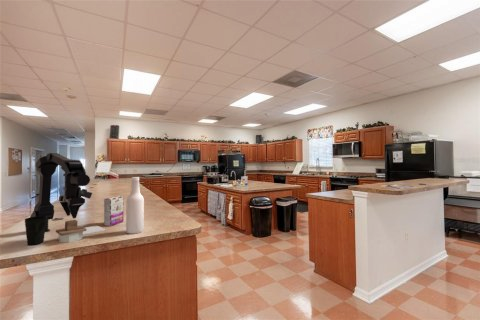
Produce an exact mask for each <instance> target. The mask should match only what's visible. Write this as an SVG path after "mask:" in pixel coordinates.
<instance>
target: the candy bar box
mask: <svg viewBox="0 0 480 320" xmlns="http://www.w3.org/2000/svg"><path fill="white" fill-rule="evenodd" d="M103 209H104V211H103V214H104V215H103V219H104V220H103V222H104V223H103V224H104V225H103V226H105V227H112V226H115V225H118V224H120V223H123V222H124V195H123V196H118V195H117V196H114V197H109V198H104V199H103Z"/></svg>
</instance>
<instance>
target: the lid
mask: <svg viewBox="0 0 480 320" xmlns="http://www.w3.org/2000/svg"><path fill="white" fill-rule="evenodd" d="M83 231H86V228H85V227H84V226H82V225H78V220H76V219H70V220H66V221H64V228H59V229H55V233H57V234H58V236H59V235H61V236H63V235H68V234H73V233H78V232H83Z"/></svg>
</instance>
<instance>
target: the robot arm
mask: <svg viewBox="0 0 480 320" xmlns="http://www.w3.org/2000/svg"><path fill="white" fill-rule="evenodd" d="M58 166H60V167H61V170H62V171H63V172H64V173H63V175H62V177H64V187H63V190H64V194H62V195H60V196H59V197H58V202H59V203H60V206H61V207H62V209H63V211H64V213H65V214H66V216H67V217H69V216H71V217H72V219H76V218H77V216H78V212H79V210H80V208H81V207H82V206H84V204H86V199H91V198H92V195H93V192H91V191H88V190H87V189H85V188H82V187H86V186H88V185H89V184H90V182H91V178H90V176H89V175H88V174H87V173H86V169H85V167H84V166H83V163H82V161H81V160H79V159H70V158H68V157H66V156H63V155H61V154H60V153H58V152H57V153H55V152H54V153H53V152H49V153H47V154H46V155H44V156H41V157H40V158H38V159H37V161H36V162H35V168H36V172H37V173H38V175H39V187H38V188H39V190H38V202H37V203H36V204H35V206H34V207H33V211H32V212H31V215H29V218H30V217H37V216H46V217H47V219H46V227H45V233H46V232H50V231H51V229H50V228H49V220H53V219H54V215H55V205H54V204H52V203H51V190H52V178H53V175H54V174H55V172H56V171H57V168H58Z"/></svg>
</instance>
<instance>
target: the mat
mask: <svg viewBox="0 0 480 320" xmlns="http://www.w3.org/2000/svg"><path fill="white" fill-rule="evenodd" d="M84 228H86V231H83V236H87V235H92V234H96V233H100V232H105V231H107V229H106V228H104V227H101V226H99V225H98V224H96V225H92V226H91V225H90V226H85V227H84Z"/></svg>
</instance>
